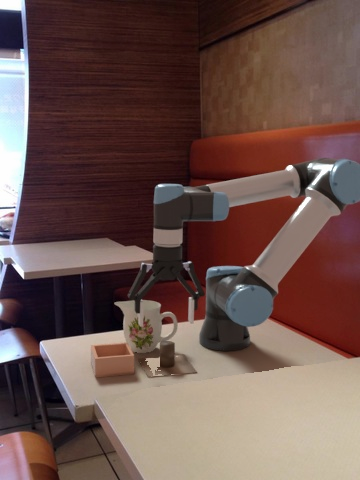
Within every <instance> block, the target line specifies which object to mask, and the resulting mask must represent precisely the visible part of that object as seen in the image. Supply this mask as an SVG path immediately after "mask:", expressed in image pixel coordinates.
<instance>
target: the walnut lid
mask: <svg viewBox="0 0 360 480" xmlns="http://www.w3.org/2000/svg"><path fill="white" fill-rule="evenodd" d="M175 347H176V344H175V342H174V341H172V340H171V341H170V340H167V341H163V342H160V343H159V356H160V367H157V368H158V369H157V371H156V370H155V375H158V374H162V375H171V374H182V375H190V374H189V373H193V374H198V371H197V370H196V368H195V367H194V365H193V364H192V363H191V362H190V361H189V359H188V357H186V355H185V354H176V353H175V352H176V351H175V350H176V348H175ZM175 354H176V356H178V357H176V356H175ZM145 358H146V357H138V359H137V360H138V362H139V363H140V362H141V363H140V365H141V364H142V365H141V366H143V367H142V369H143V368H144V369H143V371H144V370H145V371H144V373H145V372H146V373H145V374H146V376H147V378H148V377H151V376H153V373H152V371H150V370H151V368H150V367H149V365H147V362H148V361H145V360H146V359H145ZM158 370H161V371H158ZM151 378H152V377H151Z"/></svg>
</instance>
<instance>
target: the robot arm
mask: <svg viewBox="0 0 360 480" xmlns="http://www.w3.org/2000/svg"><path fill="white" fill-rule="evenodd" d="M287 196H290V197H291V198H293V199H296V198H300V197H305V198H304V199H303V201H302V202H301V203H300V205H299V206H298V207H297V208H296V210H295V211H294V212H293V213H292V215H290V217H289V219H287V221H286V222H285V223H284V225H283V226H282V227H281V228H280V230H278V232H277V234H276V235H275V236H274V237H273V239H272V240H271V241H270V243H268V245H267V246H266V247H265V248H264V250H263V251H262V253H260V255H259V256H258V257H257V258H256V260H255V261H254V263H253V264H251V265H244V266H237V265H221V266H220V265H219V266H212V267H209V268H208V269H207V271H206V276H205V290H204V289H203V286H202V284H201V282H200V280H199V278H198V276H197V274H196V271H195V265H194V263H193V262H192V261H191V260H188V261H187V262H183V245H182V243H183V236H184V235H183V233H184V232H183V228H184V222H216V221H217V222H218V221H224V220H226V219H227V218H228V216H229V211H230V208H232V207H236V206H242V205H247V204H251V203H258V202H262V201H268V200H272V199H279V198H283V197H287ZM358 202H360V163H359V162H357V161H354V160H350V159H348V158H340V159H339V158H329V157H319V158H316V159H315V158H314V159H312V160H308V161H307V160H306V161H304V162H300V163H296V164H290V165H287V166H286V167H285V169H283V170H276V171H272V172H268V173H262V174H257V175H256V174H255V175H251V176H246V177H240V178H236V179H230V180H226V181H225V180H224V181H219V182H214V183H208V184H204V185H200V186H199V185H198V186H183V185H182V184H179V183H159V184H157V185H156V186H155V187H154V195H153V239H152V241H153V246H152V262H151V263H145V262H144V261H143V262H141V263H140V267H139V272H138V274H137V275H136V278H135V280H134V281H133V284H132V286H131V288H130V289H129V291H128V293H127V297H128V298H129V301H132V300H134V301H135V312H136V313H138V324H139V325H140V327H142V326H143V301H142V300H143V298H144V297H145V296H146V295H147V294H148V293H149V291H150V290H151V289H152V288H153V286H154V285H155V284H156V283H158V282H159V281H160V280H161V281H168V280H169V281H174V280H175V279H177V281H179V283H180V284H181V285H182V286H183V288H185V290H186V291H187V292H188V294H189V295H191V296H189V297H188V311H187V313H188V315H187V316H188V317H187V321H188V322H189V324H193V325H194V324H195V320H194V319H195V311H197V310H198V309H199V308H198V306H199V305H198V303H199V299H200V298H202V297H205V317H204V319H203V320H204V321H203V322H202V326H201V328H200V331H199V334H198V335H199V337H198V339H199V341H198V342H199V344H200V345H201V346H202V347H205V348H207V349H211V350H215V351H225V352H230V351H232V352H233V351H239V350H243V349H246V348H248V347H249V346H250V345H251V334H250V331H249V327H257V326H259V325H262V324H263V323H265V322H266V321H267V320H268V319H269V318H270V317H271V314H272V312H273V310H274V299H275V297H276V296H278V294H279V287H278V286H279V283H280V282H281V281H282V280H283V278H284V277H285V276H286V274H287V273H288V272H289V271H290V270H291V268H292V267H293V265H294V264H295V263H296V262H297V260H299V258H300V257H301V255H302V254H303V253H304V252H305V250H306V249H307V248H308V247H309V245H310V244H311V243H312V242H313V240H314V239H315V237H316V236H317V235H318V234H319V232H320V231H321V230H322V229H323V227H324V226H325V225H326V224H327V222H328V221H329V220H330V218H331V217H338V216H340V215H341V214H342V213H343V211H344V210H345V209H346V207H347V206H348V205H354V204H356V203H358ZM151 269H152V272H153V273H152V274H151V275H150V277H149V278H148V280H147V281H146V282H145V283H144V285H143V286H141V284H142V282H143V281H144V279H145V277H146V275H147V273H148V272H149V271H150V270H151ZM183 269H185V271H187V272H188V274H189V277H190V278H191V280H192V283H193V284H194V287H195V289H196V291H195V290H194V288H192V287H191V285H190V284H189V283H188V282H187V280H185V278H184V277H183V276H182V274H181V272H182V271H183ZM140 287H141V288H140Z"/></svg>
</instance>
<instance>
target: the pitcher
mask: <svg viewBox="0 0 360 480" xmlns="http://www.w3.org/2000/svg"><path fill="white" fill-rule="evenodd" d="M142 301H143V326H142V327H140V325H139V324H138V313H136V312H135V301H134V300H126V301H125V300H124V301H116V302H114V305H115V306H117V307H119V308H120V310H121V311H122V314H123V323H122V325H123V326H122V328H123V329H122V330H123V335H124V338H125V343H127V342H128V344H129V346H130V348H131V350H132V352H133V353H135V352H137V353H136V354H147V353H146V352H149V353H151V352H150V351H152V352H153V351H155V349H156V347H157V346H158V344H160V342H163V341H170V340H171V339H172V338H173V337H174V336H175V335H176V333H177V331H178V318H177V316H176V315H175V314H174V313H172V312H171V311H165V312H163V313H160V311H161V307H162V304H161V303H160V302H157V301H154V300H146V299H142ZM166 317H167V318H171V320H172V322H173V328H172V331H171V332H169V333H168V334H167V335H164V336H162V332H163V331H162V330H163V324H162V323H163V322H162V320H163V319H164V318H166Z"/></svg>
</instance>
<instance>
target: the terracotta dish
mask: <svg viewBox="0 0 360 480" xmlns="http://www.w3.org/2000/svg"><path fill="white" fill-rule="evenodd" d="M90 363H91V368H92V371H93V374H94V377H95V378H105V377H115V376H116V377H117V376H126V375H135V354H134V352H133V351H132V350H131V348H130V346H129V344H128V342H117V343H115V342H114V343H104V344H90Z"/></svg>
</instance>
